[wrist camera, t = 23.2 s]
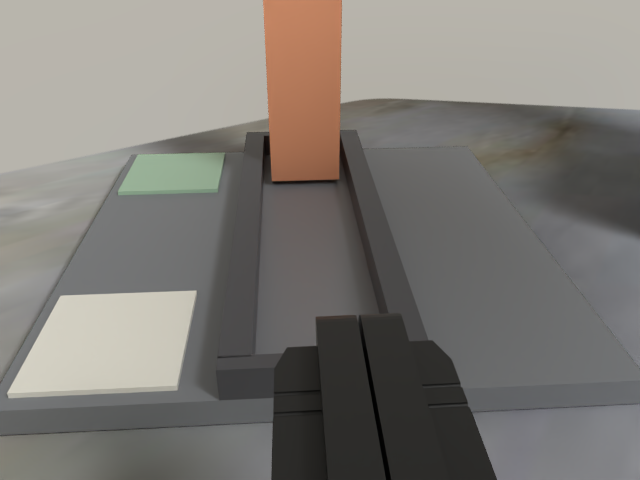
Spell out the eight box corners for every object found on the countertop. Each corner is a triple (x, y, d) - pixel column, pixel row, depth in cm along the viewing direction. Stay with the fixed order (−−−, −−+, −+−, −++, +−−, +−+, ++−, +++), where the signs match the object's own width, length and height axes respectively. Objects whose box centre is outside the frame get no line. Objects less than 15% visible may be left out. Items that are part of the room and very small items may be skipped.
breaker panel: (465, 161, 36) (469, 127, 35) (639, 403, 19) (659, 350, 18) (134, 170, 35) (128, 135, 34) (-7, 435, 18) (-28, 381, 16)
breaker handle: (335, 149, 34) (338, -148, 27) (342, 180, 30) (348, -156, 23) (269, 151, 34) (255, -148, 27) (268, 182, 30) (251, -157, 23)
